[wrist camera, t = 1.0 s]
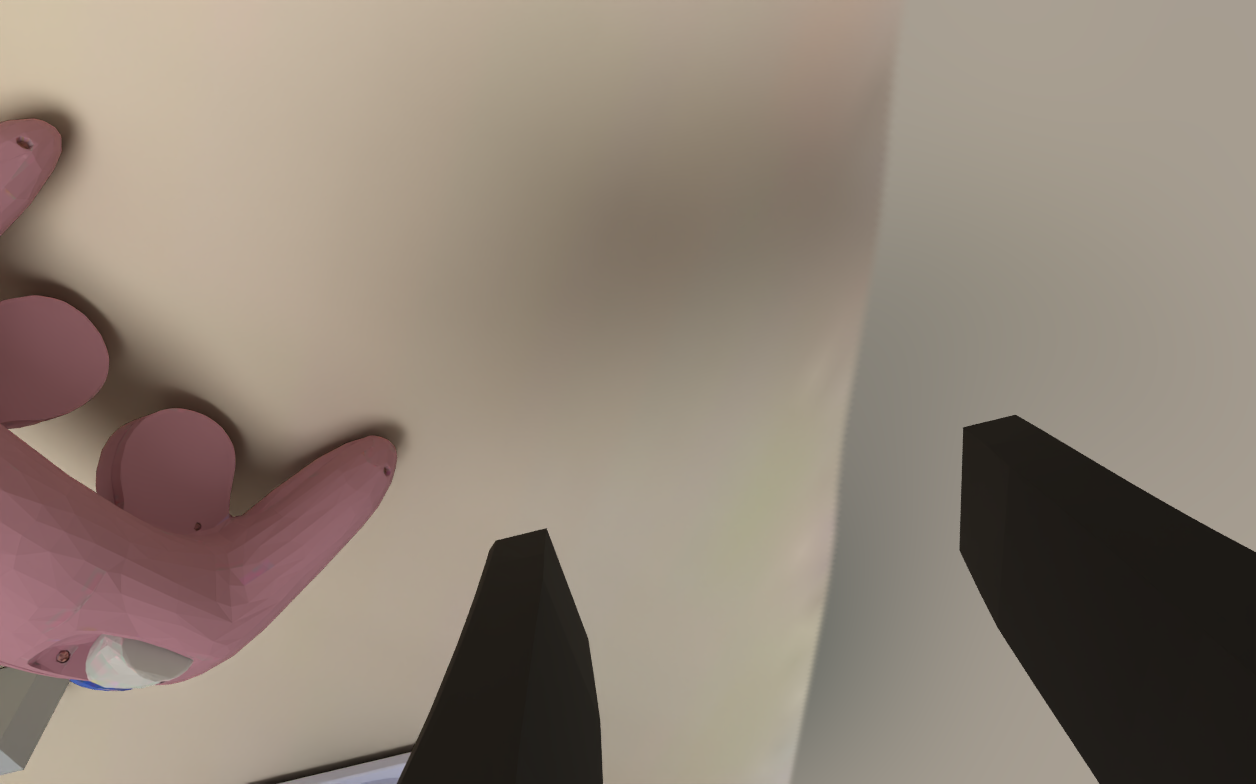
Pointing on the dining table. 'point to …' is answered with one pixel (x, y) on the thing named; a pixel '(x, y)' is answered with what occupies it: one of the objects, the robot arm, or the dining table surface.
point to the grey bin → (24, 714)
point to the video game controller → (141, 505)
